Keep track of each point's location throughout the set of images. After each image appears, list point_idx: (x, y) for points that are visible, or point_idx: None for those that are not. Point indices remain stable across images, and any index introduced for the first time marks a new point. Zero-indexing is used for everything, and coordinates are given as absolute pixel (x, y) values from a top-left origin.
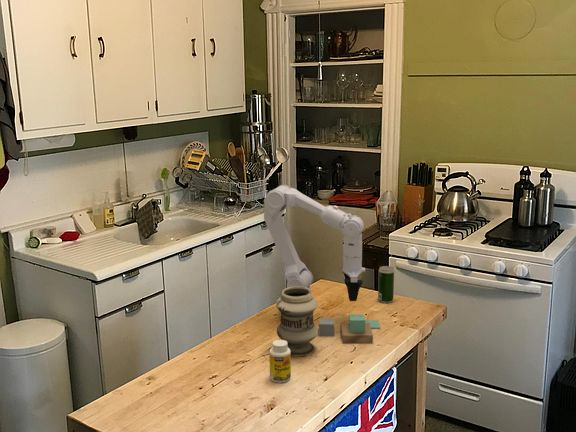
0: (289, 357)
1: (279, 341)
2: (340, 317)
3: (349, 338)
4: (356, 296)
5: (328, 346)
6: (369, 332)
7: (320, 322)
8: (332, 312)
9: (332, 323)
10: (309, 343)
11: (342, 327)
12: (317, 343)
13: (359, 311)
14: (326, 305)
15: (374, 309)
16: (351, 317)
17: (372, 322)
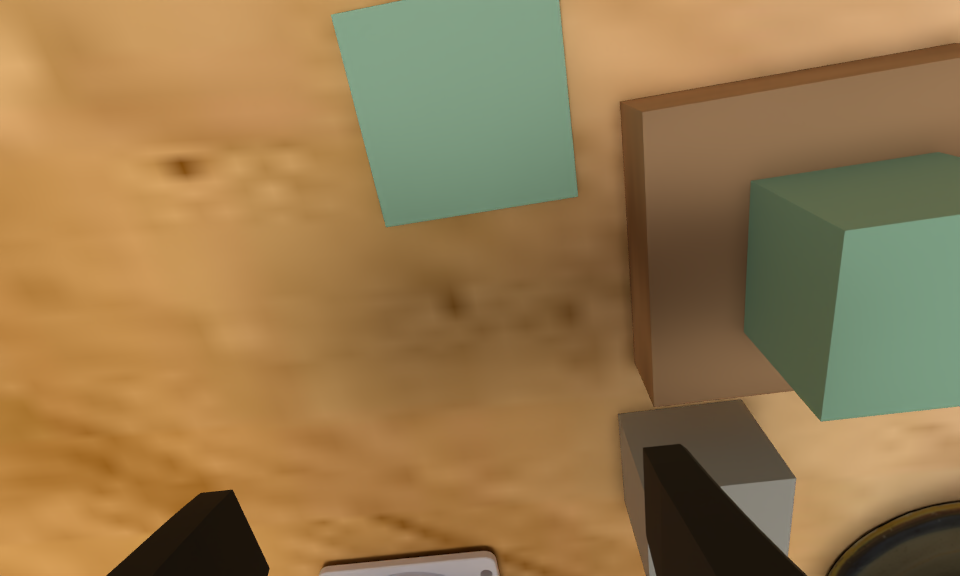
0: None
1: None
2: (342, 384)
3: None
4: (740, 522)
5: (939, 420)
6: (938, 95)
7: None
8: (255, 447)
9: (775, 492)
10: (925, 545)
11: (754, 384)
12: (869, 489)
13: (137, 236)
14: (129, 496)
15: (3, 77)
16: (935, 387)
17: (420, 78)
